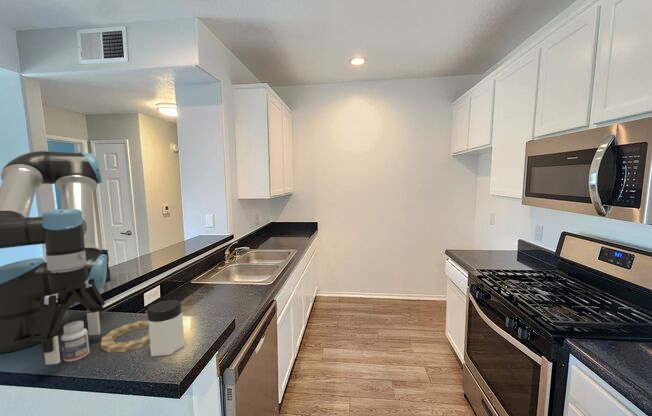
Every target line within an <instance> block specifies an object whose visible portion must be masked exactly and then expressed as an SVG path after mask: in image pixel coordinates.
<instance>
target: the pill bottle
mask: <svg viewBox="0 0 652 416" xmlns="http://www.w3.org/2000/svg"><path fill="white" fill-rule="evenodd" d="M84 326H85V324H84V321H83V320H75V321H72V322H68V323H66V324H65V325H63V334H62V335H61V338H60V340H61V341H60V342H61V350H62V357H63V361H64V362H75V361H78V360H81V359H83V358H85V357H87V355H88V354H89V353H90V342H89V331H88V329H87V328H85V327H84Z"/></svg>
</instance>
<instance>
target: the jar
mask: <svg viewBox="0 0 652 416" xmlns="http://www.w3.org/2000/svg"><path fill="white" fill-rule="evenodd" d="M146 314H147V315H146V316H147V317H146V318H147V321H148V327H149V328H148V335H149V340H150V343H149V351H150V356H151V357H160V356H161V357H162V356H164V357H165V356H170V355H172V354H174V353H176V352H177V351H178V350H180V349H182V348H183V347H185V335H184V320H183V312H182V302H181V301H180V300H178V299H168V300H164V301H158V302H156V303H153V304H152V305H150V306H148V307H147V308H146Z"/></svg>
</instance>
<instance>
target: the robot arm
mask: <svg viewBox="0 0 652 416" xmlns="http://www.w3.org/2000/svg"><path fill="white" fill-rule="evenodd" d="M0 172H1V173H0V179H1V181H2V182H1V184H0V249H10V248H17V247H19V248H20V247H25V246H26V247H27V246H36V245H44V244H45V245H44V246H45V257H46V258H45V259H46V260H45V259H44V258H43V257H36V258H34V257H33V258H28V259H23V260H19V261H14V262H10V263H7V264H5V265H0V354H5V352H6V353H11V351H12V352H14V351H20V350H23V349H27V348H29V347H32V346H35V345H37V344H41V348H42V349H41V350H42V353H43V354H44V359H45V360H44V361H45V365H57V364H59V363H61V357H60V355H61V353H60V344H59V335H57V334H58V332H60V324H61V322H62V320H63V317H64V316H65V314H66V311H68V310H69V308H70V307H71V306H73V305H74V304H75V303H79V304H80V305H82V306H83V307H84V308H85V309H87V310H88V312H87V313H86V319H87V328H88V329H87V331H88V336H96V335H100V334H101V332H102V331H101V322H100V320H101V317H100V311H103V310H104V306H105V304H106V303H105V300H104V299H103V296H102V295H101V293H100V291H101V290H102V289H103V288H104V287H105V285H106V283H105V282H106V275H107V255H104V254H102V252H101V250H102V249H100V248H98V247H97V246H96V245H97V244H96V233H95V232H96V231H95V230H96V229H95V215H94V212H95V211H94V200H93V199H94V198H93V197H94V196H93V191H95V189H97V187H98V185H99V184H101V183H102V176H101V171H100V165H99V162H98V159H97V157H96V155H94V154H93V153H89V152H82V151H79V152H71V151H70V152H67V151H47V150H46V151H45V150H39V151H31V152H28V153H24V154H22V155H19V156H17V157H15V158H13V159H12V160H10V161H9V162H8V163H6V164H5V166H4V167H3V168H2V170H1V171H0ZM42 185H54V186H55V187H56V189H58V190H59V191H60V209H51V210H50V209H49V210H45V211H43V213H42V216H30V213H31V210H32V205H33V202H34V199H35V194H36V191H37V188H39V187H40V186H42ZM45 261H46V262H45Z"/></svg>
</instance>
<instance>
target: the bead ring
mask: <svg viewBox="0 0 652 416" xmlns="http://www.w3.org/2000/svg"><path fill="white" fill-rule="evenodd" d="M141 329H143V330H144V329H149V327H148V320H140V321H139V320H138V321H136V322H131V323H128V324H124V325H122V326H119V327H117V328H115V329H112V330H110V331H109V332H108V333H107V334H106V335H104V336H102V337H101V342H100V349H101V350H102V351H103V352H107V353H109V354H114V353H126V352H129V351H132V350H137V349H140V348H143V347H145V346H147V345H150V340H149V334H147V335H145V336H142V337H141V338H137V339H134V340H130V341H125V342H124V341H122V342H116V341H114V340H116V339H117V338H118V337H121V336H122V335H124V334H126V333H129V332H132V331H136V330H141Z"/></svg>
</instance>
